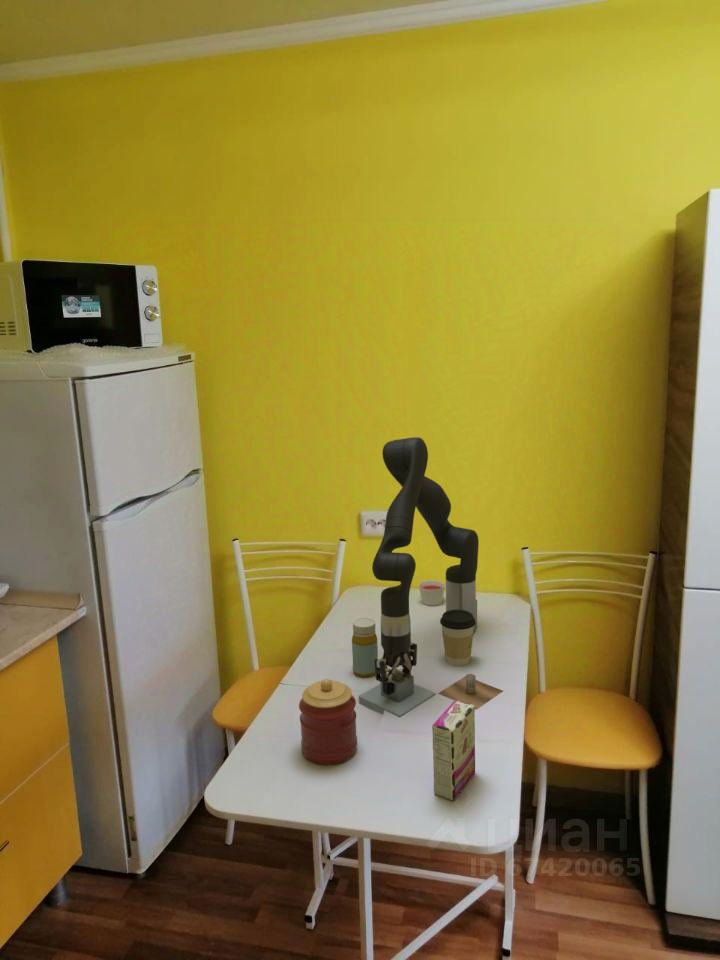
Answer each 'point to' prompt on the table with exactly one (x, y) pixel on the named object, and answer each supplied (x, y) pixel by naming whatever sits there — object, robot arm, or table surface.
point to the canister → (328, 722)
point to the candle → (432, 592)
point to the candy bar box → (454, 749)
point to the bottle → (364, 647)
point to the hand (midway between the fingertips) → (397, 688)
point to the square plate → (382, 703)
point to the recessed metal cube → (400, 687)
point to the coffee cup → (457, 636)
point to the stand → (471, 691)
